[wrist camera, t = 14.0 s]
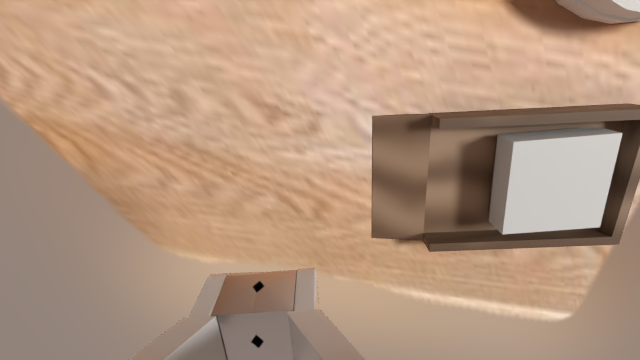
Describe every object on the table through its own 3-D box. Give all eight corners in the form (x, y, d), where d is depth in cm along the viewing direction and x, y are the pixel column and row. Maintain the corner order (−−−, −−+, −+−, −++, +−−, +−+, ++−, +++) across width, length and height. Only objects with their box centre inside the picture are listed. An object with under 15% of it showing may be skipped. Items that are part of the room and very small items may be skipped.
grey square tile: (492, 133, 34) (513, 141, 31) (589, 124, 34) (622, 132, 30) (484, 217, 38) (502, 234, 34) (572, 210, 37) (599, 227, 34)
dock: (371, 115, 35) (377, 122, 31) (624, 102, 35) (661, 108, 31) (371, 235, 40) (376, 253, 37) (590, 226, 40) (618, 244, 36)
